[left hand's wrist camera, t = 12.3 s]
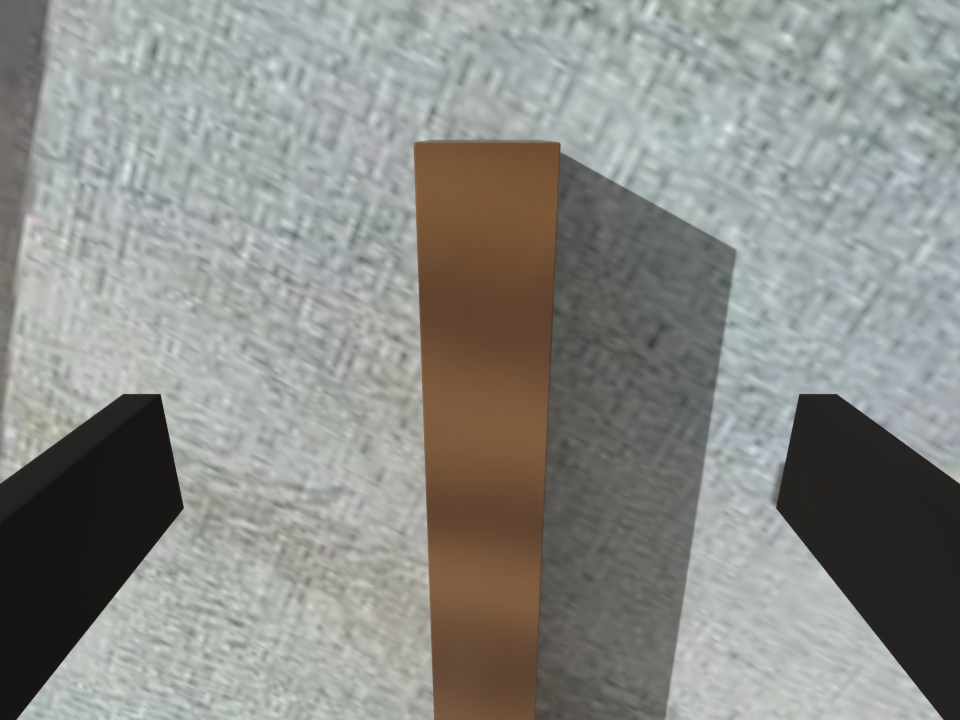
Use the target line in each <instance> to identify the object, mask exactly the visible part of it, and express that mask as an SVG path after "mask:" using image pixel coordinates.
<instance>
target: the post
mask: <svg viewBox="0 0 960 720" xmlns="http://www.w3.org/2000/svg"><path fill="white" fill-rule="evenodd" d="M560 146H561V144H560V143H559V142H551V141H542V140H428V141H421V142H415V143H414V167H415V195H416V223H417V251H418V279H419V307H420V335H421V363H422V391H423V419H424V447H425V475H426V503H427V531H428V559H429V587H430V615H431V643H432V671H433V699H434V720H534V718H535V696H536V674H537V652H538V630H539V608H540V586H541V564H542V542H543V520H544V498H545V476H546V454H547V432H548V410H549V388H550V366H551V344H552V322H553V300H554V278H555V256H556V234H557V212H558V190H559V168H560Z"/></svg>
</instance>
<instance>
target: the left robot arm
mask: <svg viewBox="0 0 960 720" xmlns="http://www.w3.org/2000/svg"><path fill="white" fill-rule="evenodd" d="M183 509H184V507H183V502H182V497H181V492H180V487H179V482H178V477H177V472H176V467H175V463H174V458H173V453H172V448H171V443H170V438H169V433H168V428H167V423H166V418H165V414H164V409H163V404H162V399H161V394H123V395H121V396H120V397H119V398H117V399H116V400H115V401H113V402H112V403H110V404H109V405H108V406H106V407H105V408H104V409H102V410H101V411H100V412H98V413H97V414H95V415H94V416H93V417H91V418H90V419H89V420H87V421H86V422H84V423H83V424H82V425H80V426H79V427H78V428H76V429H75V430H73V431H72V432H71V433H69V434H68V435H67V436H65V437H64V438H63V439H61V440H60V441H58V442H57V443H56V444H54V445H53V446H52V447H50V448H49V449H47V450H46V451H45V452H43V453H42V454H41V455H39V456H38V457H36V458H35V459H34V460H32V461H31V462H30V463H28V464H27V465H25V466H24V467H23V468H21V469H20V470H19V471H17V472H16V473H15V474H13V475H12V476H10V477H9V478H8V479H6V480H5V481H4V482H2V483H1V484H0V720H17V718H18V717H19V716H20V715H21V713H22V712H23V711H24V709H25V708H26V707H27V706H28V704H29V703H30V702H31V701H32V699H33V698H34V697H35V696H36V694H37V693H38V692H39V690H40V689H41V688H42V687H43V685H44V684H45V683H46V682H47V680H48V679H49V678H50V677H51V675H52V674H53V673H54V672H55V670H56V669H57V668H58V666H59V665H60V664H61V663H62V661H63V660H64V659H65V658H66V656H67V655H68V654H69V653H70V651H71V650H72V649H73V648H74V646H75V645H76V644H77V642H78V641H79V640H80V639H81V637H82V636H83V635H84V634H85V632H86V631H87V630H88V629H89V627H90V626H91V625H92V624H93V622H94V621H95V620H96V618H97V617H98V616H99V615H100V613H101V612H102V611H103V610H104V608H105V607H106V606H107V605H108V603H109V602H110V601H111V600H112V598H113V597H114V596H115V594H116V593H117V592H118V591H119V589H120V588H121V587H122V586H123V584H124V583H125V582H126V581H127V579H128V578H129V577H130V576H131V574H132V573H133V572H134V570H135V569H136V568H137V567H138V565H139V564H140V563H141V562H142V560H143V559H144V558H145V557H146V555H147V554H148V553H149V552H150V550H151V549H152V548H153V546H154V545H155V544H156V543H157V541H158V540H159V539H160V538H161V536H162V535H163V534H164V533H165V531H166V530H167V529H168V528H169V526H170V525H171V524H172V522H173V521H174V520H175V519H176V517H177V516H178V515H179V514H180V512H181V511H182V510H183ZM776 509H777V510H778V511H779V512H780V514H781V515H782V516H783V517H784V519H785V520H786V521H787V522H788V524H789V525H790V526H791V528H792V529H793V530H794V531H795V533H796V534H797V535H798V536H799V538H800V539H801V540H802V541H803V543H804V544H805V545H806V546H807V548H808V549H809V550H810V552H811V553H812V554H813V555H814V557H815V558H816V559H817V560H818V562H819V563H820V564H821V565H822V567H823V568H824V569H825V570H826V572H827V573H828V574H829V576H830V577H831V578H832V579H833V581H834V582H835V583H836V584H837V586H838V587H839V588H840V589H841V591H842V592H843V593H844V594H845V596H846V597H847V598H848V600H849V601H850V602H851V603H852V605H853V606H854V607H855V608H856V610H857V611H858V612H859V613H860V615H861V616H862V617H863V618H864V620H865V621H866V622H867V624H868V625H869V626H870V627H871V629H872V630H873V631H874V632H875V634H876V635H877V636H878V637H879V639H880V640H881V641H882V642H883V644H884V645H885V646H886V648H887V649H888V650H889V651H890V653H891V654H892V655H893V656H894V658H895V659H896V660H897V661H898V663H899V664H900V665H901V666H902V668H903V669H904V670H905V672H906V673H907V674H908V675H909V677H910V678H911V679H912V680H913V682H914V683H915V684H916V685H917V687H918V688H919V689H920V691H921V692H922V693H923V694H924V696H925V697H926V698H927V699H928V701H929V702H930V703H931V704H932V706H933V707H934V708H935V709H936V711H937V712H938V713H939V715H940V716H941V717H942V718H943V720H960V484H959V483H958V482H956V481H955V480H954V479H952V478H951V477H950V476H948V475H947V474H945V473H944V472H943V471H941V470H940V469H939V468H937V467H936V466H935V465H933V464H932V463H930V462H929V461H928V460H926V459H925V458H924V457H922V456H921V455H919V454H918V453H917V452H915V451H914V450H913V449H911V448H910V447H908V446H907V445H906V444H904V443H903V442H902V441H900V440H899V439H897V438H896V437H895V436H893V435H892V434H891V433H889V432H888V431H887V430H885V429H884V428H882V427H881V426H880V425H878V424H877V423H876V422H874V421H873V420H871V419H870V418H869V417H867V416H866V415H865V414H863V413H862V412H860V411H859V410H858V409H856V408H855V407H854V406H852V405H851V404H850V403H848V402H847V401H845V400H844V399H843V398H841V397H840V396H839V395H837V394H799V399H798V404H797V409H796V414H795V418H794V423H793V428H792V433H791V438H790V443H789V448H788V453H787V458H786V463H785V467H784V472H783V477H782V482H781V487H780V492H779V497H778V502H777V507H776Z"/></svg>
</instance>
